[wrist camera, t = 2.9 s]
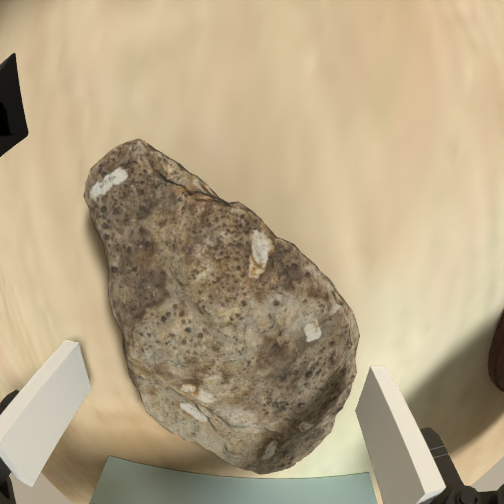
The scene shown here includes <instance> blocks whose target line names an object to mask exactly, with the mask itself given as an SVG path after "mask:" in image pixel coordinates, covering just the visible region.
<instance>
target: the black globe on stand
mask: <svg viewBox="0 0 504 504" xmlns="http://www.w3.org/2000/svg"><path fill="white" fill-rule="evenodd" d="M488 370H489V376H490V378H491V380H492V382H493V383H494V384H495V386H496V387H497V388H498V389H499V390H501V391H503V392H504V313H503V315H502V317H501V319H500V322H499V324H498V327H497V329H496V332H495V335H494V337H493V341H492V345H491V349H490V352H489V361H488Z"/></svg>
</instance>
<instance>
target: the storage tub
mask: <svg viewBox="0 0 504 504" xmlns="http://www.w3.org/2000/svg"><path fill="white" fill-rule="evenodd" d="M89 504H378V503H377V500H376V496H375V492H374V489H373V485H372V481H371V478H370V474H369V472H368V473H361V474H353V475H344V476H333V477H320V478H299V479H259V478H238V477H225V476H214V475H205V474H197V473H189V472H182V471H176V470H170V469H164V468H159V467H154V466H149V465H144V464H140V463H135V462H131V461H127V460H123V459H119V458H115V457H112V456H109V458H108V460H107V462H106V464H105V467H104V469H103V471H102V474H101V476H100V479H99V481H98V483H97V486H96V488H95V491H94V493H93V495H92V498H91V500H90V503H89Z"/></svg>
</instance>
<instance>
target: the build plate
mask: <svg viewBox="0 0 504 504" xmlns="http://www.w3.org/2000/svg"><path fill="white" fill-rule="evenodd" d="M27 136H28V128H27V123H26V119H25V114H24V109H23V103H22V98H21V92H20V86H19V79H18V71H17V63H16V54H15V53H13V54H12V55H11V56H10V57H8V58H7V59H6V60H5V61H4V62H3V63H2V64H1V65H0V157H1V156H2V155H3V154H4V153H6V152H7V151H8V150H10V149H11V148H12V147H13V146H15V145H16V144H17V143H19V142H20V141H21V140H23V139H24V138H26V137H27Z"/></svg>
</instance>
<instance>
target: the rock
mask: <svg viewBox="0 0 504 504" xmlns="http://www.w3.org/2000/svg"><path fill="white" fill-rule="evenodd" d="M84 199H85V201H86V203H87V205H88V207H89V209H90V215H91V217H92V220H93V223H94V225H95V228H96V230H97V232H98V234H99V236H100V238H101V240H102V243H103V246H104V250H105V255H106V259H107V263H108V270H109V288H108V295H109V298H110V301H111V306H112V311H113V314H114V316H115V319H116V321H117V323H118V325H119V327H120V329H121V331H122V334H123V347H124V353H125V356H126V360H127V363H128V369H129V374H130V378H131V380H132V382H133V384H134V385H135V386H136V387H137V388H138V389H139V392H140V394H141V397H142V401H143V404H144V406H145V409H146V412H147V413H148V414H150V415H151V416H152V417H153V418H154V419H155V420H156V421H157V422H158V423H159V424H160V425H161V426H162V427H164V428H165V429H167V430H168V431H169V432H171V433H175V434H177V435H179V436H181V437H182V438H183V439H185V440H188V441H192V442H197V443H198V444H200V445H201V446H202V447H204V448H205V449H207V450H209V451H211V452H213V453H214V454H216V455H217V456H218V457H219V458H221V459H222V460H224V461H225V462H228V463H230V464H232V465H234V466H236V467H239V468H241V469H244V470H249V471H253V472H255V473H257V474H269V473H272V472H277V471H282V470H284V469H288V468H290V467H292V466H294V465H295V464H296V462H299V461H301V460H302V459H303V458H304V457H306V456H307V455H309V454H310V453H311V452H312V451H313V450H314V449H315V448H316V447H317V446H318V445H319V444H320V443H321V442H322V440H323V439H324V438H325V437H326V436H327V435H328V434H329V433H331V431H332V428H333V425H334V422H335V416H336V414H337V413H338V412H339V411H340V410H341V409H342V408H343V406H344V403H345V401H346V400H347V398H348V396H349V394H350V392H351V388H352V382H353V381H354V378H355V376H356V373H357V371H356V362H355V356H356V350H357V345H358V341H359V337H360V335H359V330H358V327H357V323H356V320H355V317H354V314H353V312H352V310H351V308H350V307H349V306H348V304H347V303H346V302H345V300H344V299H343V298H342V296H341V295H340V294H339V292H338V291H337V289H336V288H335V286H334V285H333V283H332V282H331V280H330V279H329V278H328V277H327V276H325V275H324V274H323V273H321V272H320V270H319V269H318V267H317V266H316V265H315V264H314V263H313V262H312V261H311V260H309V259H308V258H307V257H306V256H305V255H304V254H302V253H301V252H300V250H299V249H298V248H297V247H296V246H295V245H294V244H292V243H290V242H288V241H286V240H283V239H281V238H278V237H276V235H275V234H274V233H273V232H272V231H271V230H270V229H269V228H268V227H267V226H266V225H265V223H264V222H263V221H262V219H261V218H259V217H258V216H257V215H256V214H255V213H254V212H253V211H252V210H250V209H249V208H247V207H246V206H244V205H243V204H241V203H240V202H231V203H228V202H226V201H224V200H223V199H221V198H219V196H218V195H217V194H216V193H215V192H214V191H213V190H212V189H211V188H210V187H209V186H208V185H207V184H206V183H205V182H203V181H202V180H201V179H200V178H199V177H198V176H196V175H194V174H192V173H190V172H188V171H187V170H186V169H185V168H184V167H183V166H182V165H181V164H179V163H178V162H176V161H174V160H173V159H171V158H169V157H167V156H166V155H165V154H163V153H162V152H160V151H158V150H156V149H155V148H153V147H152V146H151V145H149V144H148V143H146V142H145V141H143V140H141V139H136V140H132V141H129V142H126V143H124V144H121V145H119V146H117V147H115V148H114V149H112V150H111V151H110V152H109V153H107V154H106V155H105V156H104V157H103V158H102V159H101V160H100V161H98V162H97V163H96V164H95V165H94V166H93V167H92V168H91V170H90V173H89V175H88V178H87V181H86V185H85V192H84Z"/></svg>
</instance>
